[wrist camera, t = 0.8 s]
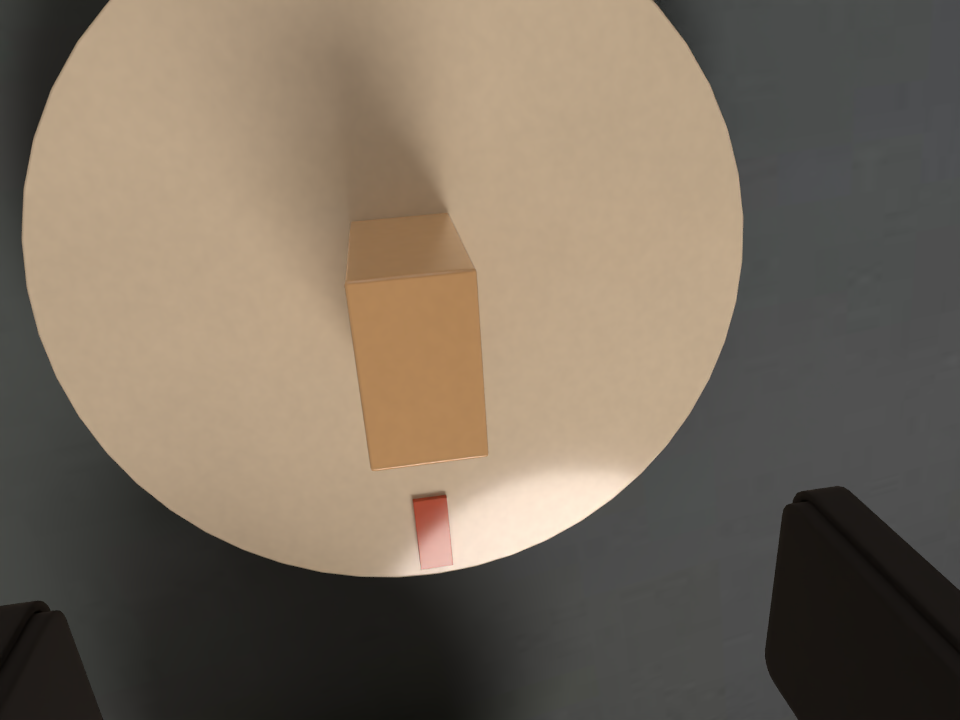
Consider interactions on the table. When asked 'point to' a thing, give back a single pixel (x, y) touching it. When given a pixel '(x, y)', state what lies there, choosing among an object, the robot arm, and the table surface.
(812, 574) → the robot arm
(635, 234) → the plate
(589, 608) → the table surface
